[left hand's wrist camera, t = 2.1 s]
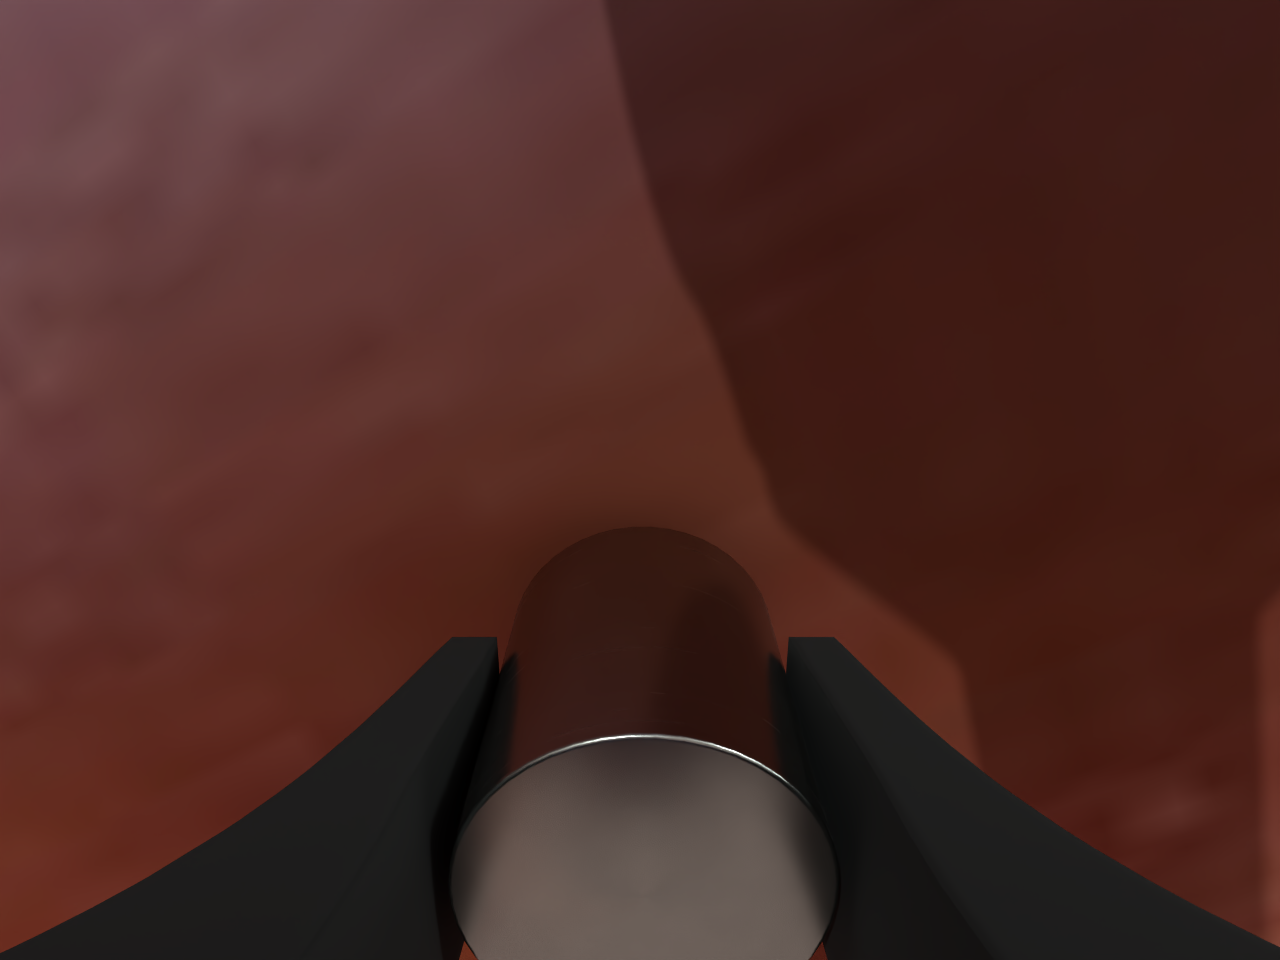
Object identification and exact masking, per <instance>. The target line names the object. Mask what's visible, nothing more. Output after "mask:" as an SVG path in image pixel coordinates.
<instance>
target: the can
mask: <svg viewBox="0 0 1280 960" xmlns="http://www.w3.org/2000/svg"><path fill="white" fill-rule="evenodd" d="M839 883H840V879H839V863H838V859H837V854H836V850H835V846H834V842H833V839H832V835H831V832H830V828H829V825H828V821H827V818H826V814H825V810H824V807H823V803H822V800H821V796H820V793H819V789H818V786H817V782H816V779H815V775H814V772H813V768H812V765H811V761H810V758H809V754H808V751H807V747H806V743H805V740H804V736H803V733H802V729H801V726H800V722H799V719H798V715H797V712H796V708H795V705H794V701H793V698H792V694H791V691H790V687H789V684H788V680H787V677H786V673H785V669H784V666H783V662H782V659H781V655H780V652H779V648H778V645H777V641H776V638H775V634H774V631H773V627H772V624H771V620H770V617H769V613H768V610H767V606H766V604H765V602H764V599H763V597H762V594H761V593H760V591H759V589H758V588H757V586H756V584H755V583H754V581H753V579H752V578H751V577H750V576H749V575H748V573H747V572H746V571H745V570H744V568H743V567H742V566H740V565H739V564H738V563H737V562H736V561H735V560H734V559H733V558H732V557H731V556H729V555H728V554H726V553H725V552H724V551H722V550H721V549H719V548H718V547H716V546H714V545H712V544H710V543H708V542H707V541H705V540H703V539H700V538H698V537H695V536H692V535H690V534H687V533H683V532H679V531H675V530H671V529H665V528H657V527H628V528H620V529H614V530H610V531H606V532H602V533H598V534H595V535H593V536H590V537H588V538H585V539H582V540H580V541H579V542H577V543H575V544H573V545H571V546H569V547H567V548H566V549H564V550H563V551H562V552H560V553H559V554H557V555H556V556H555V557H553V558H552V559H551V560H550V561H549V562H548V563H547V564H546V565H545V566H544V567H543V568H541V570H540V571H539V572H538V573H537V575H536V576H535V577H534V578H533V580H532V581H531V582H530V584H529V586H528V588H527V589H526V591H525V593H524V594H523V597H522V599H521V602H520V604H519V607H518V609H517V613H516V617H515V620H514V624H513V628H512V631H511V635H510V639H509V642H508V646H507V650H506V653H505V657H504V661H503V664H502V668H501V672H500V675H499V679H498V683H497V686H496V690H495V694H494V697H493V701H492V705H491V708H490V712H489V716H488V719H487V723H486V727H485V730H484V734H483V738H482V741H481V745H480V749H479V752H478V756H477V760H476V763H475V767H474V771H473V774H472V778H471V782H470V785H469V789H468V793H467V796H466V800H465V804H464V807H463V811H462V815H461V818H460V822H459V826H458V829H457V833H456V837H455V840H454V844H453V848H452V852H451V857H450V861H449V870H448V889H449V898H450V904H451V908H452V911H453V915H454V918H455V921H456V924H457V926H458V928H459V930H460V933H461V935H462V937H463V939H464V941H465V942H466V944H467V945H468V947H469V948H470V950H471V951H472V953H473V954H474V956H475V957H476V958H477V959H478V960H809V959H810V958H811V957H812V956H813V954H814V953H815V951H816V950H817V948H818V947H819V945H820V944H821V942H822V941H823V939H824V937H825V935H826V933H827V931H828V929H829V927H830V925H831V922H832V919H833V916H834V912H835V909H836V905H837V901H838V892H839Z"/></svg>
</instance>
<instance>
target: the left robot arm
mask: <svg viewBox="0 0 1280 960" xmlns="http://www.w3.org/2000/svg"><path fill="white" fill-rule="evenodd" d="M786 677H787V680H788V684H789V687H790V691H791V694H792V698H793V701H794V705H795V708H796V712H797V715H798V719H799V722H800V726H801V729H802V733H803V736H804V740H805V743H806V747H807V751H808V754H809V758H810V761H811V765H812V768H813V772H814V775H815V779H816V782H817V786H818V789H819V793H820V796H821V800H822V803H823V807H824V810H825V814H826V818H827V821H828V825H829V828H830V832H831V835H832V839H833V842H834V846H835V850H836V854H837V859H838V863H839V879H840V883H839V892H838V901H837V905H836V909H835V912H834V916H833V919H832V922H831V925H830V927H829V929H828V931H827V933H826V935H825V937H824V939H823V941H822V942H823V945H824V949H825V952H826V956H827V959H828V960H1280V947H1278V946H1276V945H1274V944H1272V943H1270V942H1267V941H1265V940H1263V939H1261V938H1259V937H1257V936H1255V935H1253V934H1251V933H1249V932H1247V931H1245V930H1243V929H1241V928H1239V927H1237V926H1235V925H1233V924H1231V923H1229V922H1227V921H1225V920H1223V919H1221V918H1219V917H1217V916H1215V915H1213V914H1211V913H1209V912H1207V911H1205V910H1203V909H1201V908H1199V907H1197V906H1195V905H1194V904H1192V903H1190V902H1188V901H1186V900H1184V899H1182V898H1181V897H1179V896H1177V895H1175V894H1173V893H1171V892H1169V891H1168V890H1166V889H1164V888H1162V887H1160V886H1158V885H1156V884H1155V883H1153V882H1151V881H1149V880H1147V879H1146V878H1144V877H1142V876H1141V875H1139V874H1137V873H1136V872H1134V871H1132V870H1130V869H1129V868H1127V867H1125V866H1124V865H1122V864H1120V863H1118V862H1117V861H1115V860H1113V859H1112V858H1110V857H1108V856H1107V855H1105V854H1103V853H1101V852H1100V851H1098V850H1096V849H1095V848H1093V847H1091V846H1090V845H1088V844H1087V843H1085V842H1083V841H1082V840H1080V839H1079V838H1077V837H1075V836H1074V835H1072V834H1071V833H1069V832H1068V831H1066V830H1064V829H1063V828H1061V827H1060V826H1058V825H1057V824H1055V823H1054V822H1052V821H1051V820H1050V819H1048V818H1047V817H1045V816H1044V815H1042V814H1041V813H1039V812H1038V811H1036V810H1035V809H1034V808H1032V807H1031V806H1029V805H1028V804H1026V803H1025V802H1023V801H1022V800H1020V799H1019V798H1018V797H1016V796H1015V795H1013V794H1012V793H1010V792H1009V791H1008V790H1006V789H1005V788H1004V787H1002V786H1001V785H1000V784H998V783H997V782H996V781H994V780H993V779H992V778H990V777H989V776H988V775H986V774H985V773H984V772H983V771H981V770H980V769H979V768H978V767H976V766H975V765H974V764H973V763H971V762H970V761H969V760H968V759H966V758H965V757H964V756H963V755H961V754H960V753H959V752H958V751H956V750H955V749H954V748H953V747H951V746H950V745H949V744H948V743H947V742H945V741H944V740H943V739H942V738H941V737H940V736H938V735H937V734H936V733H935V732H934V731H933V730H931V729H930V728H929V727H928V726H927V725H926V724H925V723H924V722H922V721H921V720H920V719H919V718H918V717H917V716H916V715H915V714H914V713H912V712H911V711H910V710H909V709H908V708H907V707H906V706H905V705H904V704H903V703H901V702H900V701H899V700H898V699H897V698H896V697H895V696H894V695H893V694H892V693H891V692H890V691H889V690H888V689H887V688H886V687H885V686H884V685H883V684H881V683H880V682H879V681H878V680H877V679H876V678H875V677H874V676H873V675H872V674H871V673H870V672H869V671H868V670H867V669H866V668H865V667H864V666H863V665H862V664H861V663H860V662H859V661H858V660H857V659H856V658H855V657H854V656H853V655H852V654H851V653H850V652H849V651H848V650H847V649H846V648H845V647H844V646H843V645H842V644H841V643H840V642H838V641H837V640H836V639H835V638H834V637H789V642H788V655H787V668H786ZM498 679H499V661H498V648H497V637H452V638H451V639H450V640H449V641H448V642H447V643H446V644H445V645H444V646H442V647H441V648H440V649H439V650H438V651H437V652H436V653H435V654H434V655H433V656H432V657H431V658H430V659H429V660H428V661H427V662H426V663H425V664H424V665H423V666H422V667H421V668H420V669H419V670H418V671H417V672H416V673H415V674H414V675H413V676H412V677H411V678H410V679H409V680H408V681H407V682H406V683H405V684H404V685H403V686H402V687H401V688H400V689H399V690H398V691H397V692H396V693H395V694H394V695H392V696H391V697H390V698H389V699H388V700H387V701H386V702H385V703H384V704H383V705H382V706H381V707H380V708H379V709H378V710H377V711H375V712H374V713H373V714H372V715H371V716H370V717H369V718H368V719H367V720H366V721H365V722H364V723H363V724H362V725H361V726H359V727H358V728H357V729H356V730H355V731H354V732H353V733H351V734H350V735H349V736H348V737H347V738H345V739H344V740H343V741H342V742H341V743H340V744H338V745H337V746H336V747H335V748H334V749H333V750H331V751H330V752H329V753H328V754H327V755H325V756H324V757H323V758H322V759H321V760H320V761H318V762H317V763H316V764H315V765H314V766H313V767H311V768H310V769H309V770H308V771H306V772H305V773H304V774H302V775H301V776H300V777H299V778H297V779H296V780H295V781H293V782H292V783H291V784H289V785H288V786H287V787H285V788H284V789H283V790H281V791H280V792H279V793H277V794H276V795H275V796H273V797H272V798H270V799H269V800H267V801H266V802H265V803H263V804H262V805H260V806H259V807H258V808H256V809H255V810H253V811H252V812H250V813H249V814H248V815H246V816H245V817H243V818H242V819H241V820H239V821H238V822H236V823H235V824H233V825H232V826H230V827H229V828H227V829H226V830H224V831H222V832H221V833H219V834H217V835H216V836H214V837H213V838H211V839H209V840H208V841H206V842H204V843H203V844H201V845H200V846H198V847H196V848H195V849H193V850H191V851H190V852H188V853H186V854H185V855H183V856H182V857H180V858H178V859H177V860H175V861H173V862H172V863H170V864H169V865H167V866H165V867H164V868H162V869H160V870H159V871H157V872H155V873H154V874H152V875H151V876H149V877H147V878H145V879H144V880H142V881H140V882H138V883H137V884H135V885H133V886H131V887H129V888H128V889H126V890H124V891H122V892H120V893H118V894H116V895H115V896H113V897H111V898H109V899H107V900H105V901H104V902H102V903H100V904H98V905H96V906H94V907H93V908H91V909H89V910H87V911H85V912H83V913H81V914H79V915H77V916H75V917H73V918H71V919H69V920H67V921H65V922H63V923H61V924H59V925H57V926H55V927H53V928H51V929H50V930H48V931H46V932H44V933H42V934H40V935H38V936H35V937H33V938H31V939H29V940H27V941H25V942H23V943H21V944H19V945H17V946H15V947H13V948H11V949H9V950H6V951H4V952H2V953H0V960H459V957H460V954H461V950H462V947H463V943H464V939H463V937H462V935H461V933H460V930H459V928H458V926H457V924H456V921H455V918H454V915H453V911H452V908H451V904H450V898H449V889H448V870H449V861H450V857H451V852H452V848H453V844H454V840H455V837H456V833H457V829H458V826H459V822H460V818H461V815H462V811H463V807H464V804H465V800H466V796H467V793H468V789H469V785H470V782H471V778H472V774H473V771H474V767H475V763H476V760H477V756H478V752H479V749H480V745H481V741H482V738H483V734H484V730H485V727H486V723H487V719H488V716H489V712H490V708H491V705H492V701H493V697H494V694H495V690H496V686H497V683H498Z"/></svg>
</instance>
